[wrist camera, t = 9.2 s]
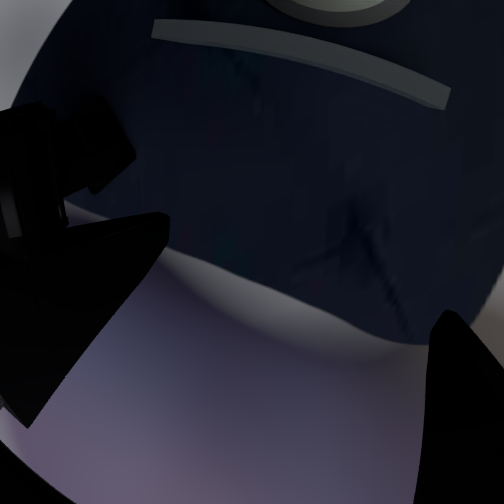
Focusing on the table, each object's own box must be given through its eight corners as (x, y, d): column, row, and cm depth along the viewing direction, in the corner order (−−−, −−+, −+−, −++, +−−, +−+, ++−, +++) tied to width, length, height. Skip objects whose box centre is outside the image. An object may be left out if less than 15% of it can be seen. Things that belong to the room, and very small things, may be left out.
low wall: (432, 89, 14) (450, 88, 11) (427, 106, 15) (444, 110, 12) (188, 27, 17) (155, 19, 14) (185, 43, 18) (151, 37, 14)
